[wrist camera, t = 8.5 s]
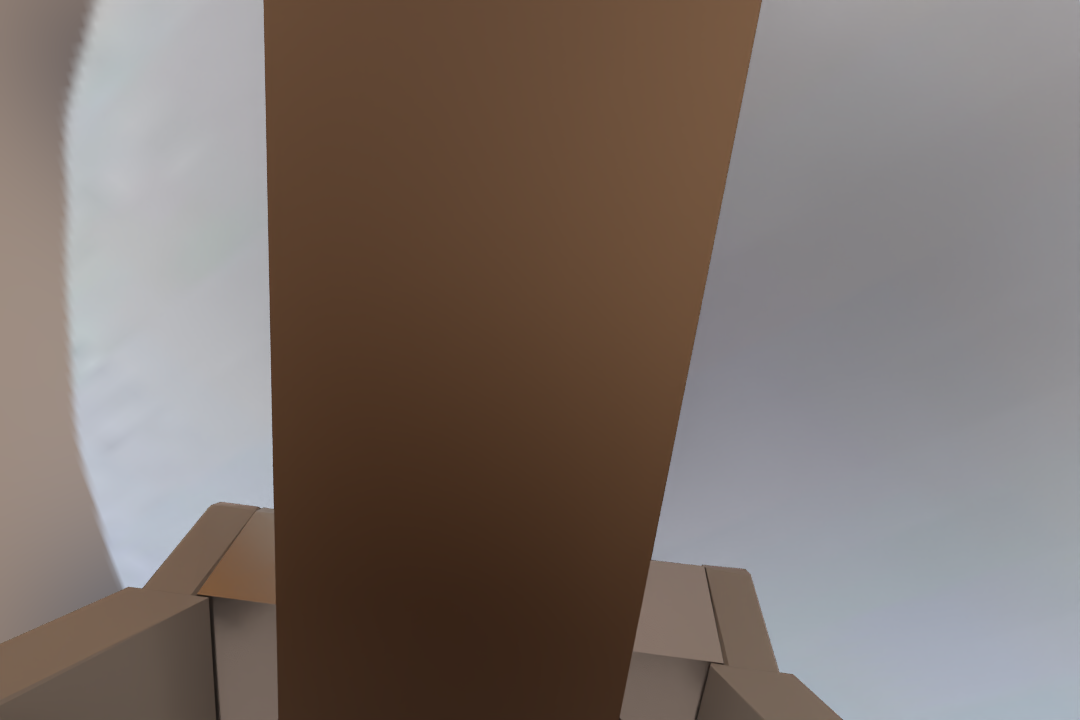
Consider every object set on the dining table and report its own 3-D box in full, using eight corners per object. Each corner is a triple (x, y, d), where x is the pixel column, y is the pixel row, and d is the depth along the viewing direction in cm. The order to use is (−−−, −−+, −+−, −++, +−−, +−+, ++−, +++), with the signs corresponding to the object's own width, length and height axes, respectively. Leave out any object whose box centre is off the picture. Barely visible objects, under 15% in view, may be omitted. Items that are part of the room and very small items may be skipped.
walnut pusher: (933, -414, 7) (1309, -907, 3) (597, 1039, 15) (598, 1360, 12) (258, -490, 7) (-102, -1045, 3) (286, 995, 15) (189, 1300, 12)
